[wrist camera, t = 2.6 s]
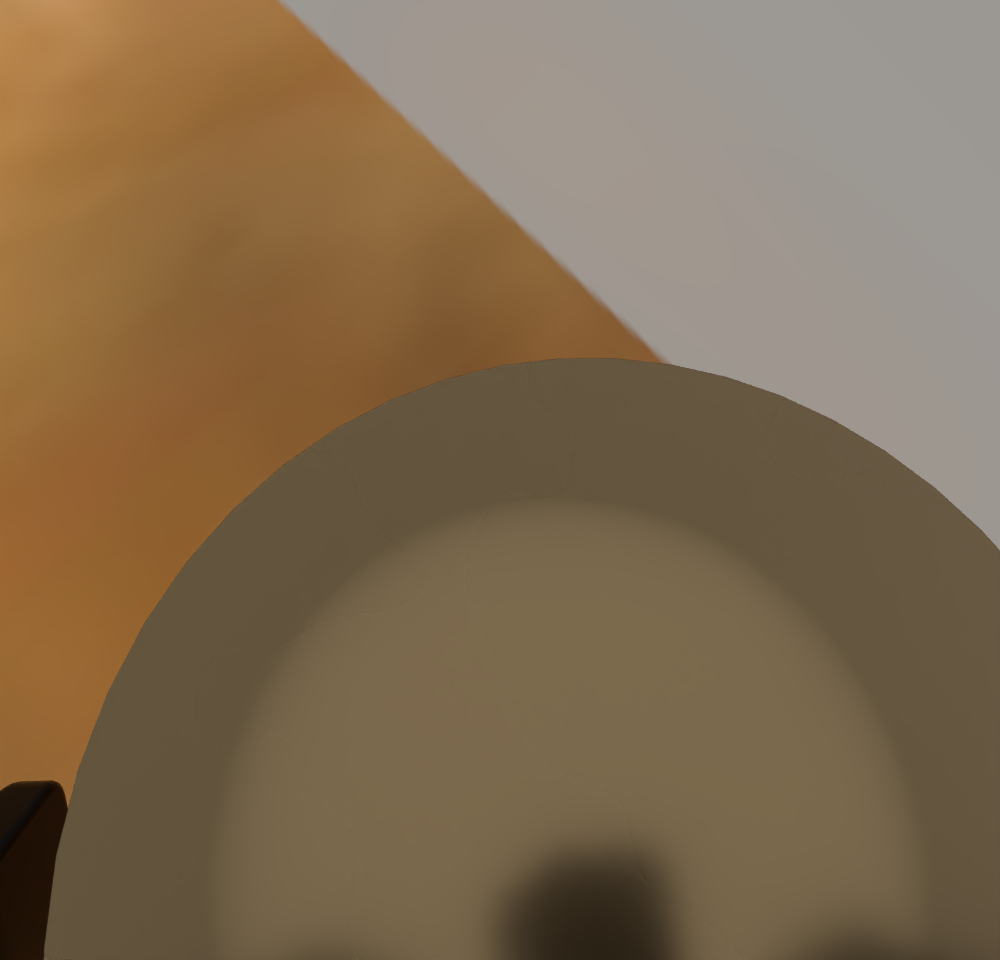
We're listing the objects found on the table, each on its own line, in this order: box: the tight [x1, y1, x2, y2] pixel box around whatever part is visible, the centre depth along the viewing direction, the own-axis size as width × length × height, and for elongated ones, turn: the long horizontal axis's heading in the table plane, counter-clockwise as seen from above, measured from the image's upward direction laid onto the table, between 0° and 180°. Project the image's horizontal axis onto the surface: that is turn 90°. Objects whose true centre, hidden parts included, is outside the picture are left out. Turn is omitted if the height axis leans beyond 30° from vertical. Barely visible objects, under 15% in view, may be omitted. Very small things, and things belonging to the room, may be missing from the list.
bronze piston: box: [44, 358, 1000, 960], centre depth 9 cm, size 6×6×12 cm
